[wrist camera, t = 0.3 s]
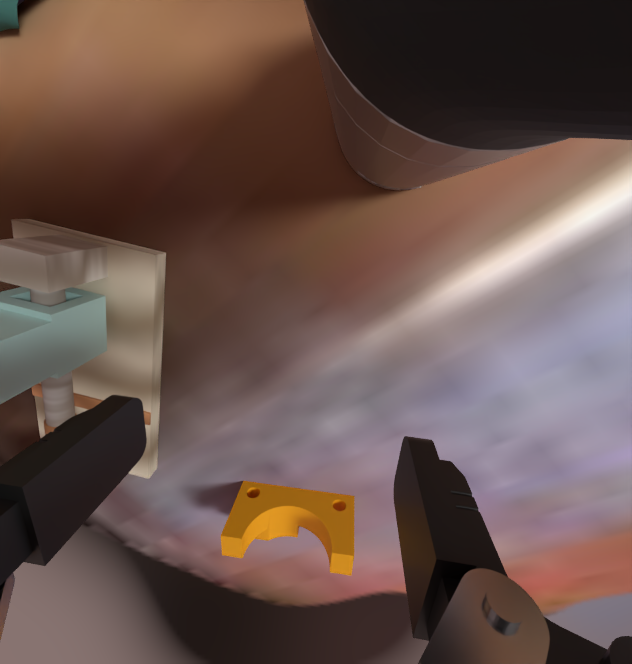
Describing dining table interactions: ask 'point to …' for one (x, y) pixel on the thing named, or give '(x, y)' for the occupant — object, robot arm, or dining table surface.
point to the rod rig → (121, 319)
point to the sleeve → (47, 337)
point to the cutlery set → (9, 14)
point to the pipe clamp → (291, 520)
